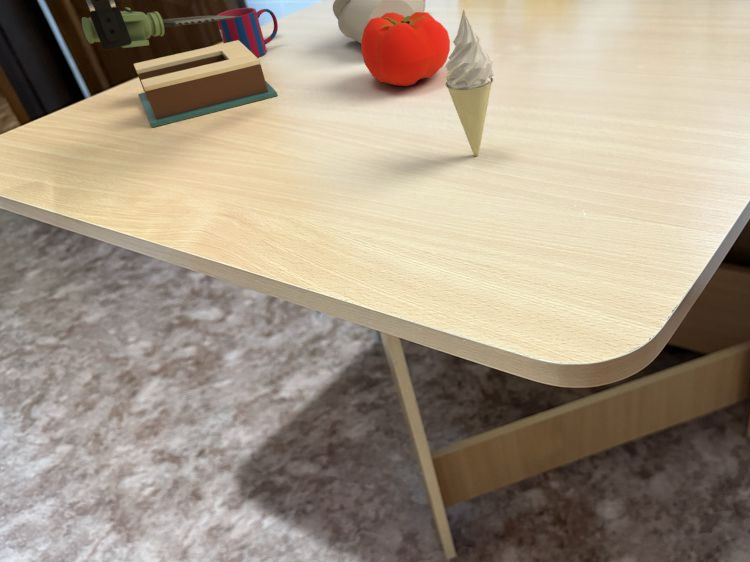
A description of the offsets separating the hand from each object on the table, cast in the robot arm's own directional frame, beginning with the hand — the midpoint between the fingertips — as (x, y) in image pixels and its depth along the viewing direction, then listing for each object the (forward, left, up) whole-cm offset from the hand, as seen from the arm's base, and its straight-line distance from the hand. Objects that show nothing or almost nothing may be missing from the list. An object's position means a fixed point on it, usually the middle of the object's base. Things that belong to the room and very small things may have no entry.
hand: (115, 39), depth 81 cm
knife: (+6, +2, -1) cm, 6 cm away
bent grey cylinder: (+42, +23, -13) cm, 50 cm away
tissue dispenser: (+9, +16, -13) cm, 23 cm away
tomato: (+36, 0, -13) cm, 38 cm away
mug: (+21, +34, -13) cm, 42 cm away
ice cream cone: (+31, -30, -13) cm, 45 cm away
